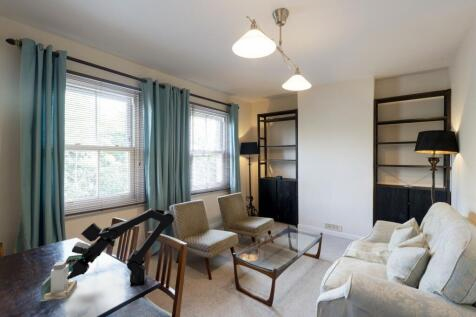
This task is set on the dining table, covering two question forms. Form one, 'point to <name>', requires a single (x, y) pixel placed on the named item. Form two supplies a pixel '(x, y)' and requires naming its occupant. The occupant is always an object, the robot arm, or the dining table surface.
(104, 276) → the dining table surface
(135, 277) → the robot arm
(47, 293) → the tray
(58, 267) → the connector plug
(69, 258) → the digital multimeter
